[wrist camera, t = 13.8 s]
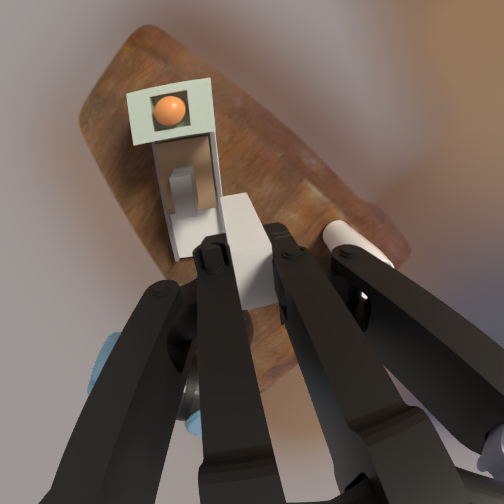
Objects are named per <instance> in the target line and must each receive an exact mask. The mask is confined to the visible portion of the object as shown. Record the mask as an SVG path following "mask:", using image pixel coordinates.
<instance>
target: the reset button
mask: <svg viewBox="0 0 504 504" xmlns="http://www.w3.org/2000/svg"><path fill="white" fill-rule="evenodd" d="M186 112H187V108H186V104H185V103H184V101H183V100H181V99H180V98H177V97H174V96H168V97H164V98H162V99H161V100H160V101H159V102H158V103H157V104H156V106H155V109H154V115H155V118H156V120H157V121H158V122H159V123H161V124H162V125H166V126H170V125H174V124H177V123H179V122H180V121H182V120H183V119H184V117H185V115H186Z"/></svg>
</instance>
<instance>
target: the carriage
mask: <svg viewBox="0 0 504 504" xmlns="http://www.w3.org/2000/svg"><path fill="white" fill-rule="evenodd" d="M155 151H156V157H157V163H158V169H159V175H160V180H161V186H162V191H163V196H164V201H165V206H166V211H167V215H170V214H176V218H177V219H183V218H189V217H196V216H197V210H203V209H210V208H217V205H216V195H215V188H214V180H213V172H212V164H211V155H210V147H209V138H208V134H205V135H198V136H191V137H185V138H179V139H173V140H167V141H162V142H158V143H157V144H155Z"/></svg>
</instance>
